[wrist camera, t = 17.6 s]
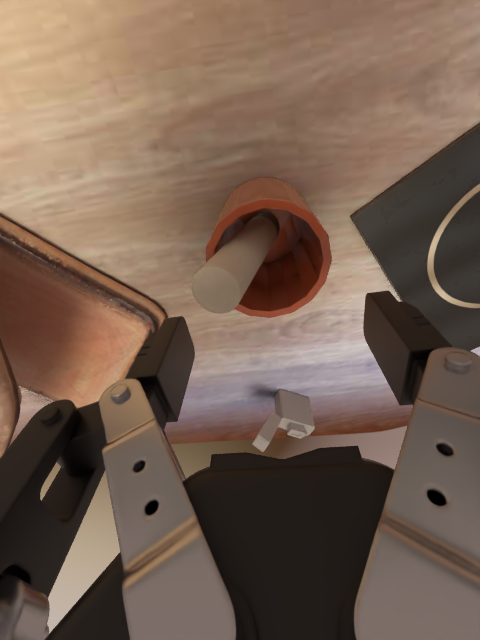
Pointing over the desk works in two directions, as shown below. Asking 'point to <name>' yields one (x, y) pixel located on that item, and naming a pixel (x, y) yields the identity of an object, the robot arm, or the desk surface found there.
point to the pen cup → (277, 247)
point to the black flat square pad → (434, 239)
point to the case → (62, 326)
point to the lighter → (287, 418)
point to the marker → (235, 265)
